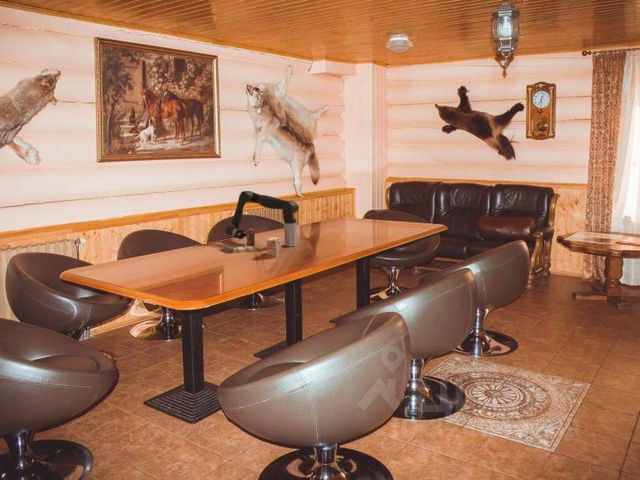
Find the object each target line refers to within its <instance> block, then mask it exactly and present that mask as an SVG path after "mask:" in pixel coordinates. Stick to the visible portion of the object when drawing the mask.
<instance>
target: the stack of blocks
mask: <svg viewBox="0 0 640 480" xmlns="http://www.w3.org/2000/svg"><path fill="white" fill-rule="evenodd" d="M281 253H282V239H281V238H279V236H278V237H277V236H275V237H274V236H273V237H272V236H271V237H269V238H268V239H267V240H266V258H268V259H269V258H270V259H271V258H272V259H273V258H274V259H275V258H277V257H278V256H279V255H280V254H281Z"/></svg>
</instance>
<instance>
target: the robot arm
mask: <svg viewBox="0 0 640 480" xmlns="http://www.w3.org/2000/svg"><path fill="white" fill-rule="evenodd" d="M239 193H240V194H239V196H238V200H237V204H236V207H235V211H234V214H233V217H232V219H231V221H230V224H231V225H233V226H231V225H227V226H226V227H225V229H224V231H225V234H226V235H228V236H232V237H233V239H239V240H244V238H247V232H245V230H243V229H242V228H240V225H241V223H242V219H243V217H244V208H245V207H244V206H245V205H246V204H248V203H252V204H257V205H260V206H262V207H263V208H266V209H270V210H282V219H283V224H284V225H283V232H284V233H283V234H284V235H283V237H284V239H283V241H284V244H283V245H284V246H285V247H296V246H298V245H299V244H298V243H299V242H298V241H299V240H298V232H297V219H296V218H295V217H294V214H296V213H297V212H298V211H299V208H300V207H299V204H298V203H297V202H296V201H294V200H293V201H292V200H285V199H281V198H278V197H274V196H271V195H264V194H259V193H257V192H253V191H251V190H244V191H241V192H239Z"/></svg>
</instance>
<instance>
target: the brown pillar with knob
mask: <svg viewBox="0 0 640 480" xmlns="http://www.w3.org/2000/svg"><path fill="white" fill-rule="evenodd" d="M255 232H256V231H255V230H254V229H253V228H248V229H247V230H246V233H247V237H246V246H255V245H256V241H255V240H256V237H255V236H256V235H255V234H256V233H255Z"/></svg>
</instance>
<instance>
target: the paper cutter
mask: <svg viewBox="0 0 640 480" xmlns="http://www.w3.org/2000/svg"><path fill="white" fill-rule="evenodd" d="M221 249H222V250H223V251H225V252H227V253H229V254H235V253H245V252H247V253H248V252H256V251H257V252H258V251H263V250H264V247H263V246H260V245H258V244H257V245H256V244H255V246H247V245H246V246H236V247H235V246H233V247H231V246H229V245H227V244H222V245H221Z"/></svg>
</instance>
